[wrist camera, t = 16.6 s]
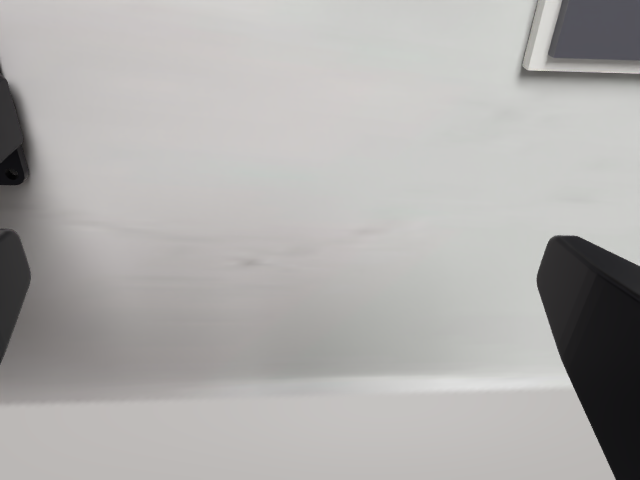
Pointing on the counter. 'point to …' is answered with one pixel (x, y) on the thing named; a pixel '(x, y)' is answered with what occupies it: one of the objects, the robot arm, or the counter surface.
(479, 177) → the counter surface
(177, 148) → the counter surface
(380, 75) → the counter surface
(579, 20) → the ink pad
